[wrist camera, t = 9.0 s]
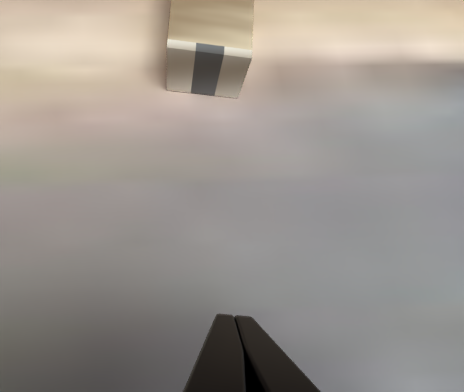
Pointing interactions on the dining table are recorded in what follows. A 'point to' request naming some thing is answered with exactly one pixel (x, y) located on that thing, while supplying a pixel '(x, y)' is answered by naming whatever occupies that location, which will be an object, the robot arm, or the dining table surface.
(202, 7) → the maple block
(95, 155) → the dining table surface
